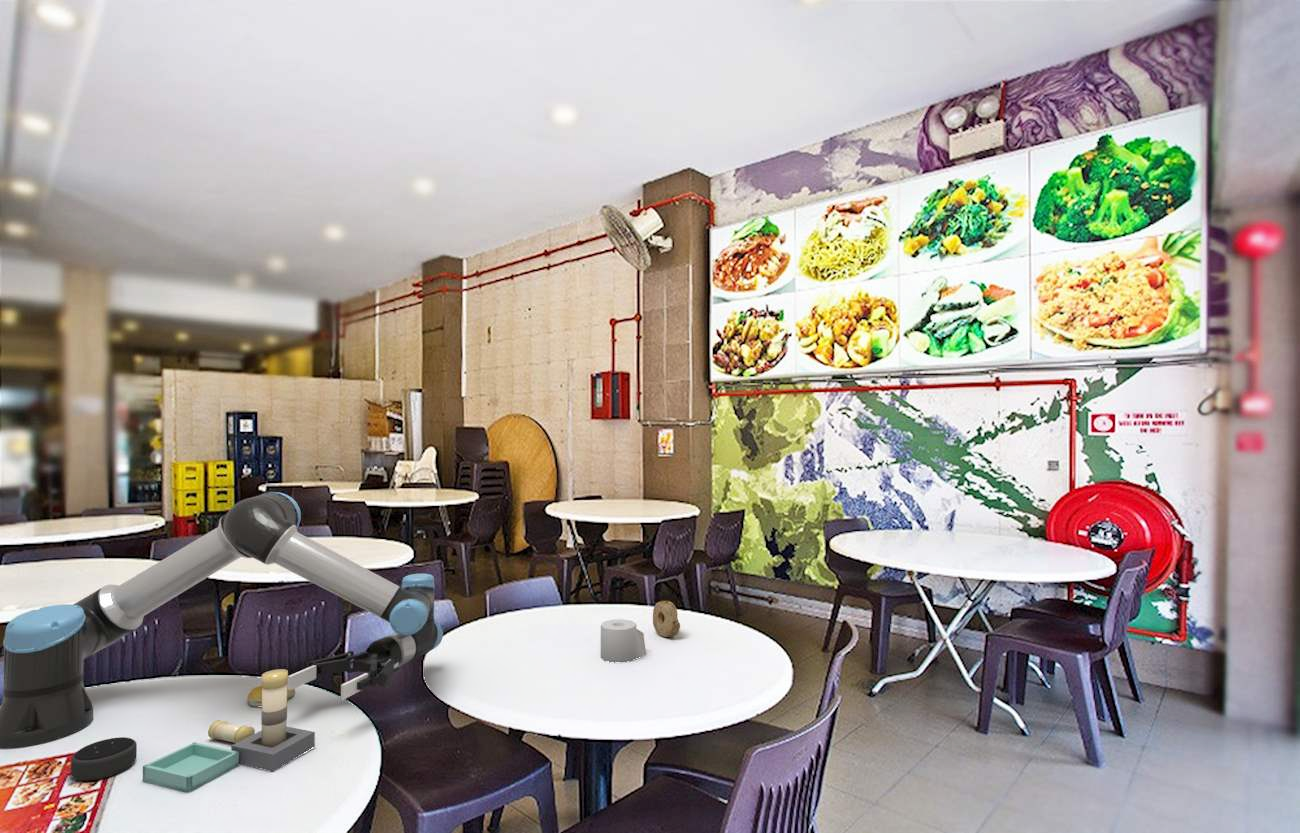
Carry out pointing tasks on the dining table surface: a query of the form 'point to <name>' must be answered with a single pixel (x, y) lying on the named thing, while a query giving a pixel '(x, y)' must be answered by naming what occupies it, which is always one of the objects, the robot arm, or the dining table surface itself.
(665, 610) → the stone disc
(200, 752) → the parts tray
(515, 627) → the dining table surface
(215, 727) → the fuse
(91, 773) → the smart speaker
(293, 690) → the bread roll
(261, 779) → the dining table surface
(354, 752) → the dining table surface
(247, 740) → the socket block
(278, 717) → the fuse
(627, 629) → the toilet tissue
